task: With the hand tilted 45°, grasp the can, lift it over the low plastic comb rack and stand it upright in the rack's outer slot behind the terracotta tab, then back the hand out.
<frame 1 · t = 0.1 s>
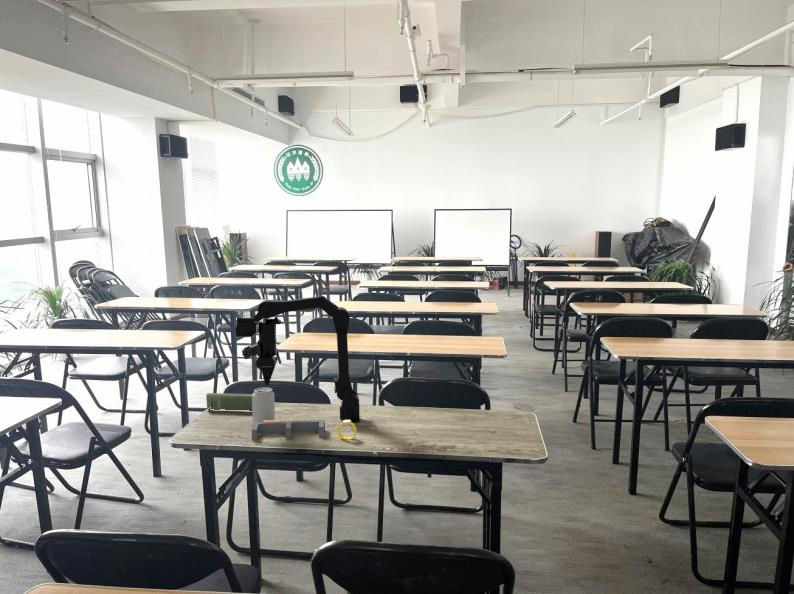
hand: (268, 381, 199), 15 cm above the table, tool pointing down, fingers open, 9 cm apart
handheld radio: (240, 412, 214), on the table
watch: (347, 439, 185), on the table
can: (263, 423, 200), on the table
comb rack: (289, 434, 188), on the table
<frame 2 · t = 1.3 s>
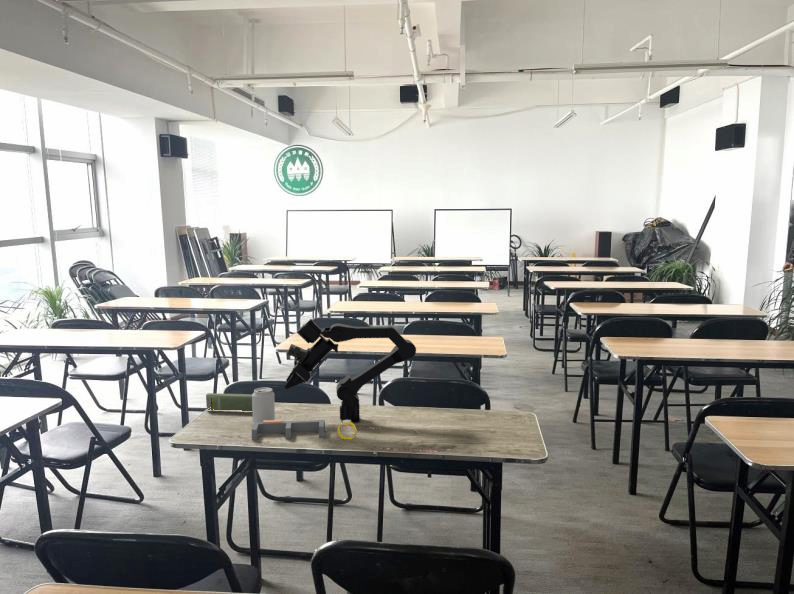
hand: (286, 384, 200), 13 cm above the table, tool tilted 45°, fingers open, 9 cm apart
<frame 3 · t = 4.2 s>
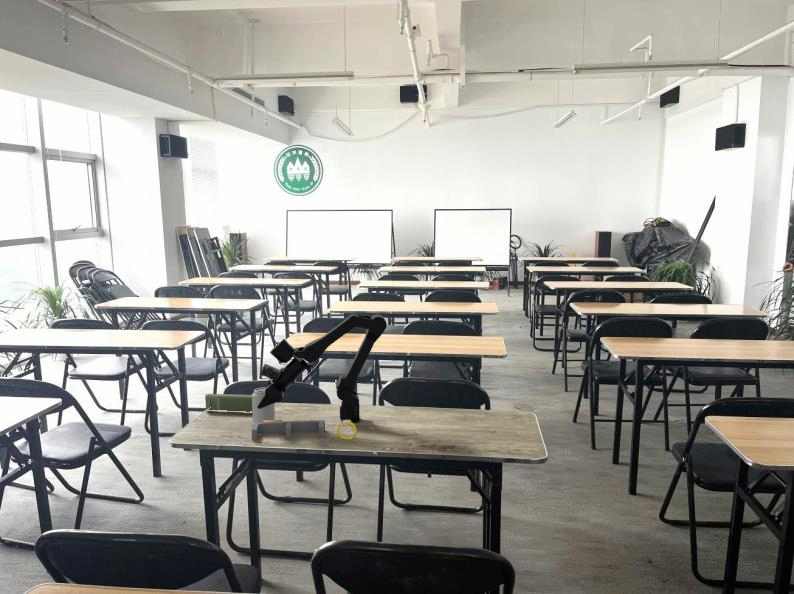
hand: (259, 404, 199), 7 cm above the table, tool tilted 45°, fingers closed on can, 7 cm apart
can: (263, 423, 200), on the table, touching gripper
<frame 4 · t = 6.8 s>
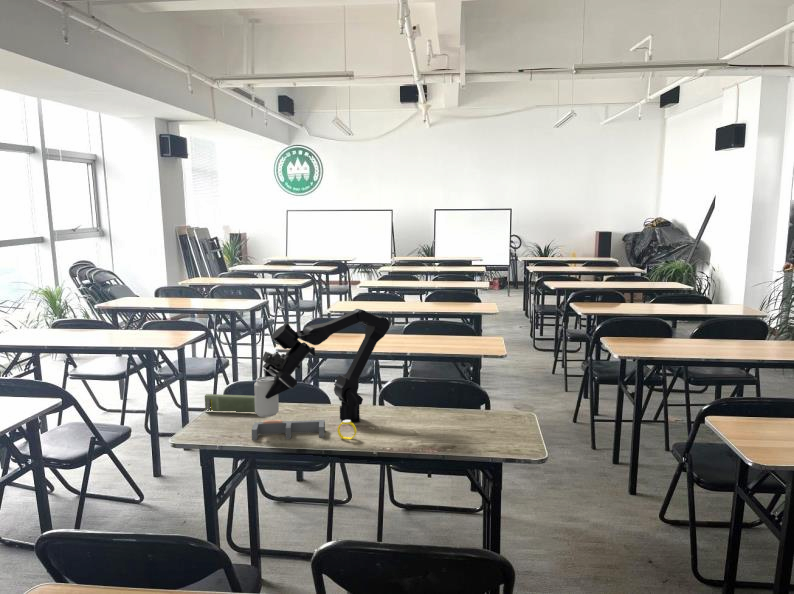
hand: (262, 395, 187), 13 cm above the table, tool tilted 45°, fingers closed on can, 7 cm apart
can: (267, 414, 189), point 6 cm above the table, touching gripper
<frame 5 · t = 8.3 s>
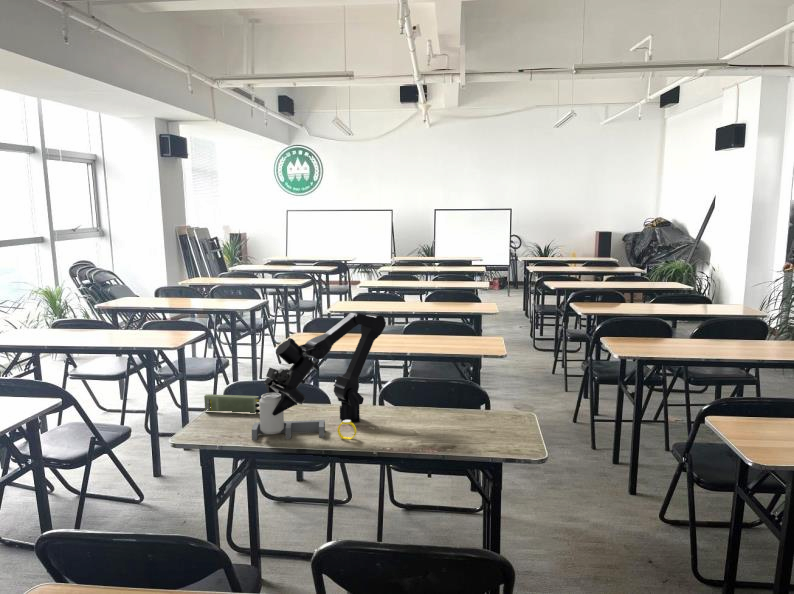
hand: (267, 411, 184), 9 cm above the table, tool tilted 45°, fingers closed on can, 7 cm apart
can: (272, 431, 186), point 2 cm above the table, touching gripper
when the fingers open (8 cm above the table, at t = 9.6 s): can drops 1 cm, on the table.
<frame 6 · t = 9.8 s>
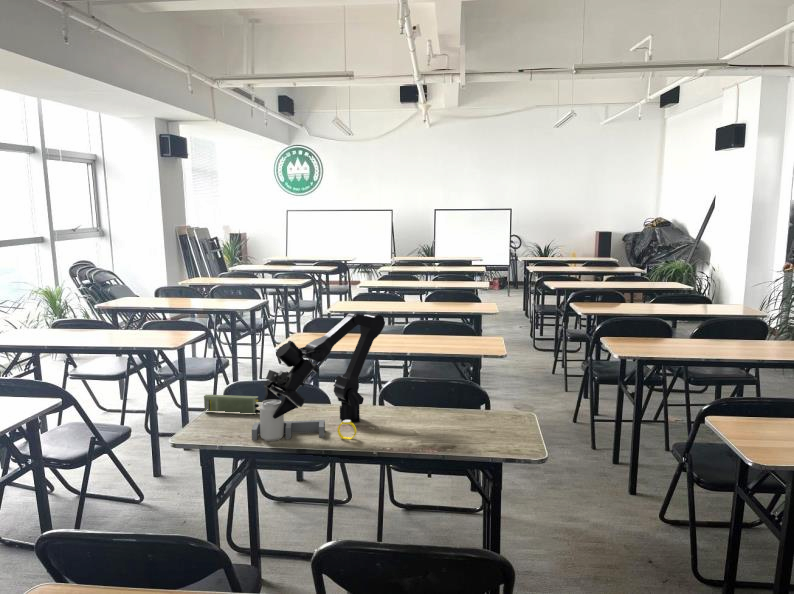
hand: (267, 414, 184), 8 cm above the table, tool tilted 45°, fingers open, 9 cm apart
can: (272, 438, 186), on the table
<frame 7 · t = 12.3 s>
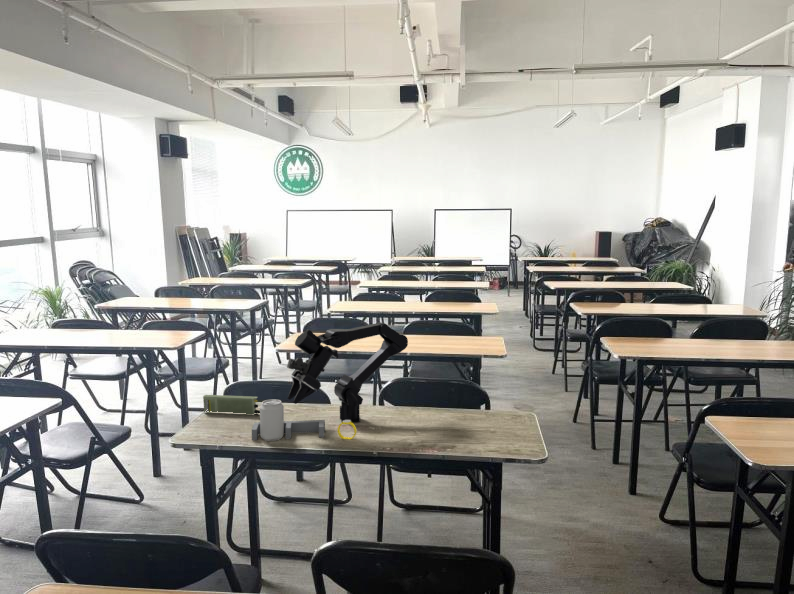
hand: (291, 401, 192), 10 cm above the table, tool tilted 40°, fingers open, 9 cm apart
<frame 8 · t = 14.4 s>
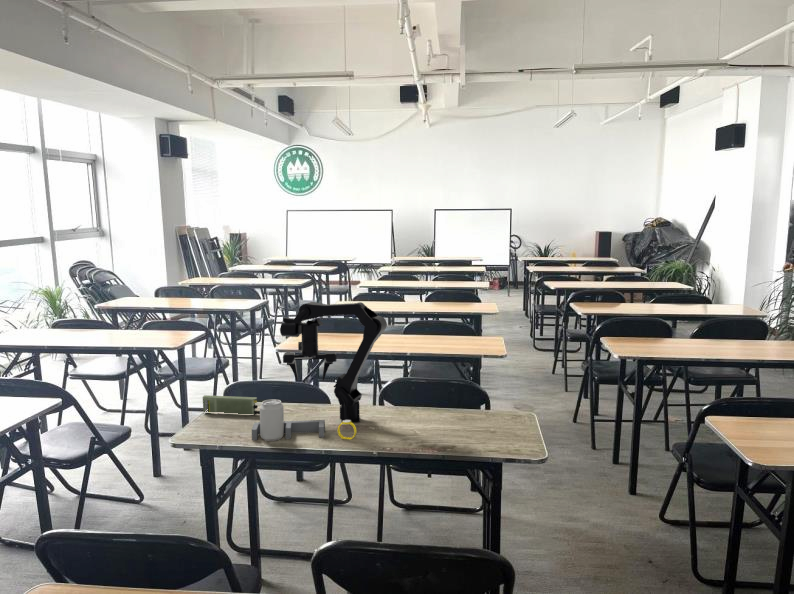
hand: (310, 380, 207), 13 cm above the table, tool pointing down, fingers open, 9 cm apart
at the end: can 1.4 cm from the target spot, on the table; can tilted 0°; the gripper is holding nothing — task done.
